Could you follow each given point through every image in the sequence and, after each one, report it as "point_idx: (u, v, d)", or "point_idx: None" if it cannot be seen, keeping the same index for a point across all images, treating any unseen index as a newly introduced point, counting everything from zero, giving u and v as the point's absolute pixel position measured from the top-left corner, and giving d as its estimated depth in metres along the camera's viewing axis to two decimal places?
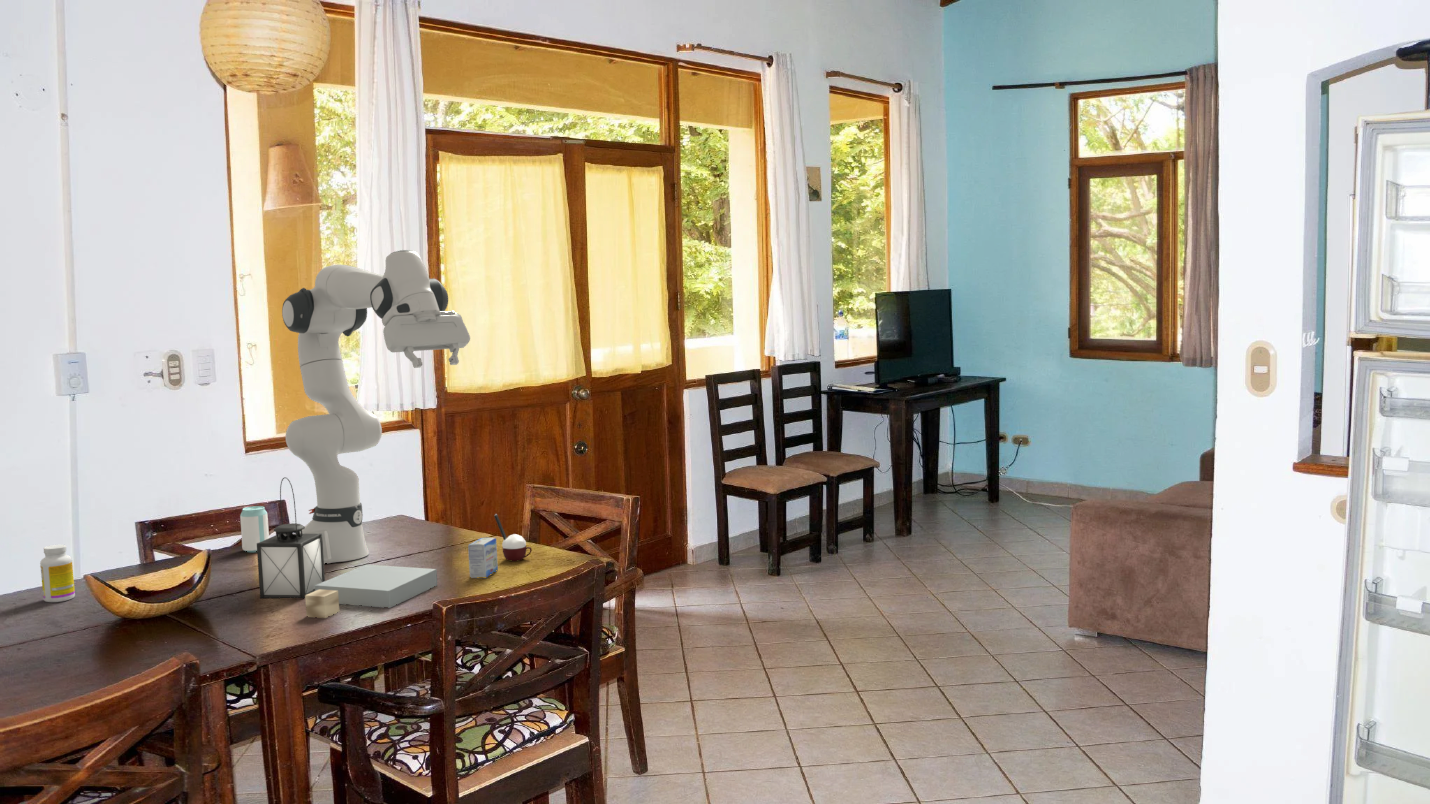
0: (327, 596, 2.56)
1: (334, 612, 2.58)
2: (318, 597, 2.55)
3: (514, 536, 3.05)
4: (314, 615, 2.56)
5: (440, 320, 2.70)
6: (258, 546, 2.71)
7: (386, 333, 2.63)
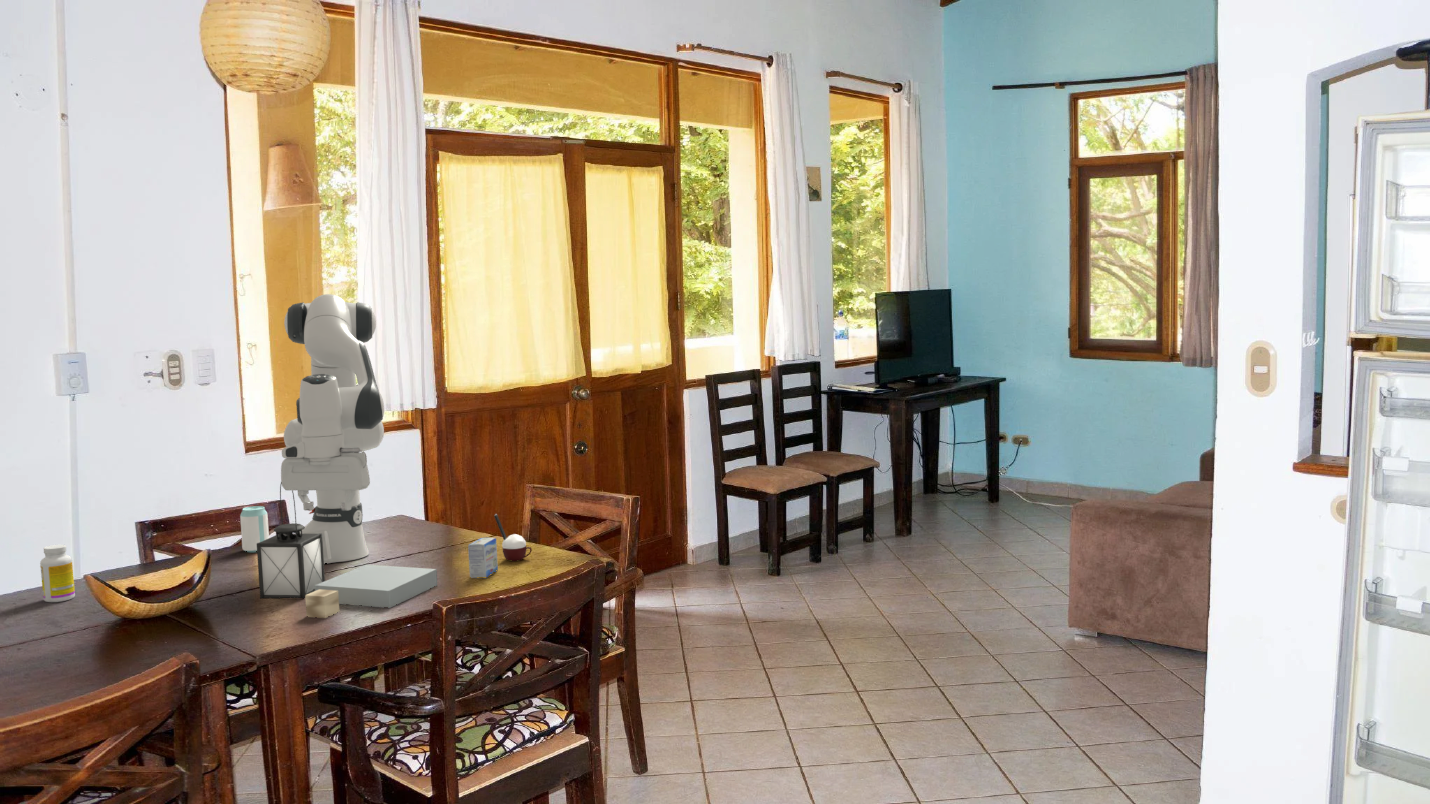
0: (327, 596, 2.56)
1: (334, 612, 2.58)
2: (318, 597, 2.55)
3: (514, 536, 3.05)
4: (314, 615, 2.56)
5: (333, 463, 2.53)
6: (258, 546, 2.71)
7: None
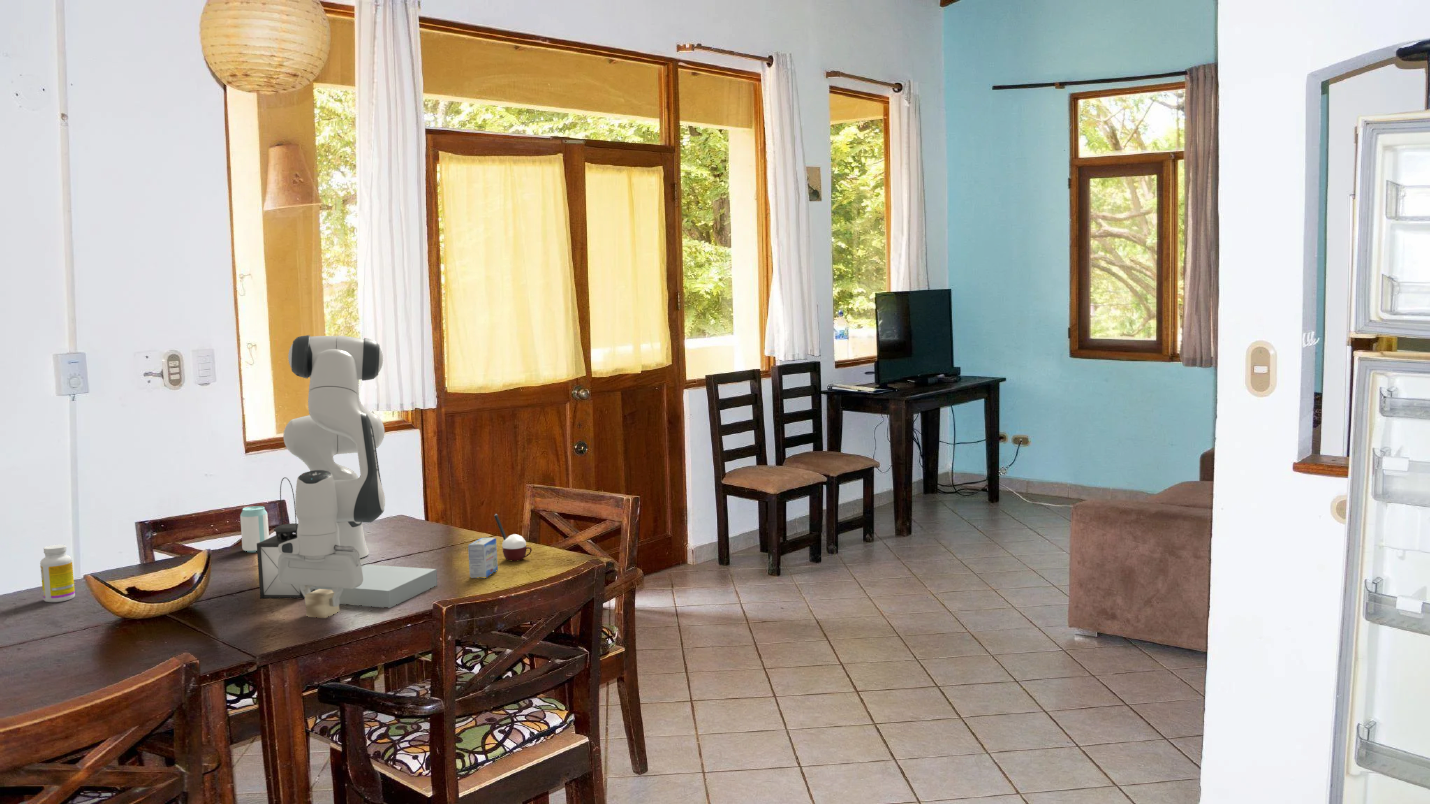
0: (327, 596, 2.56)
1: (334, 612, 2.58)
2: (318, 597, 2.55)
3: (514, 536, 3.05)
4: (314, 615, 2.56)
5: (327, 561, 2.54)
6: (258, 546, 2.71)
7: None
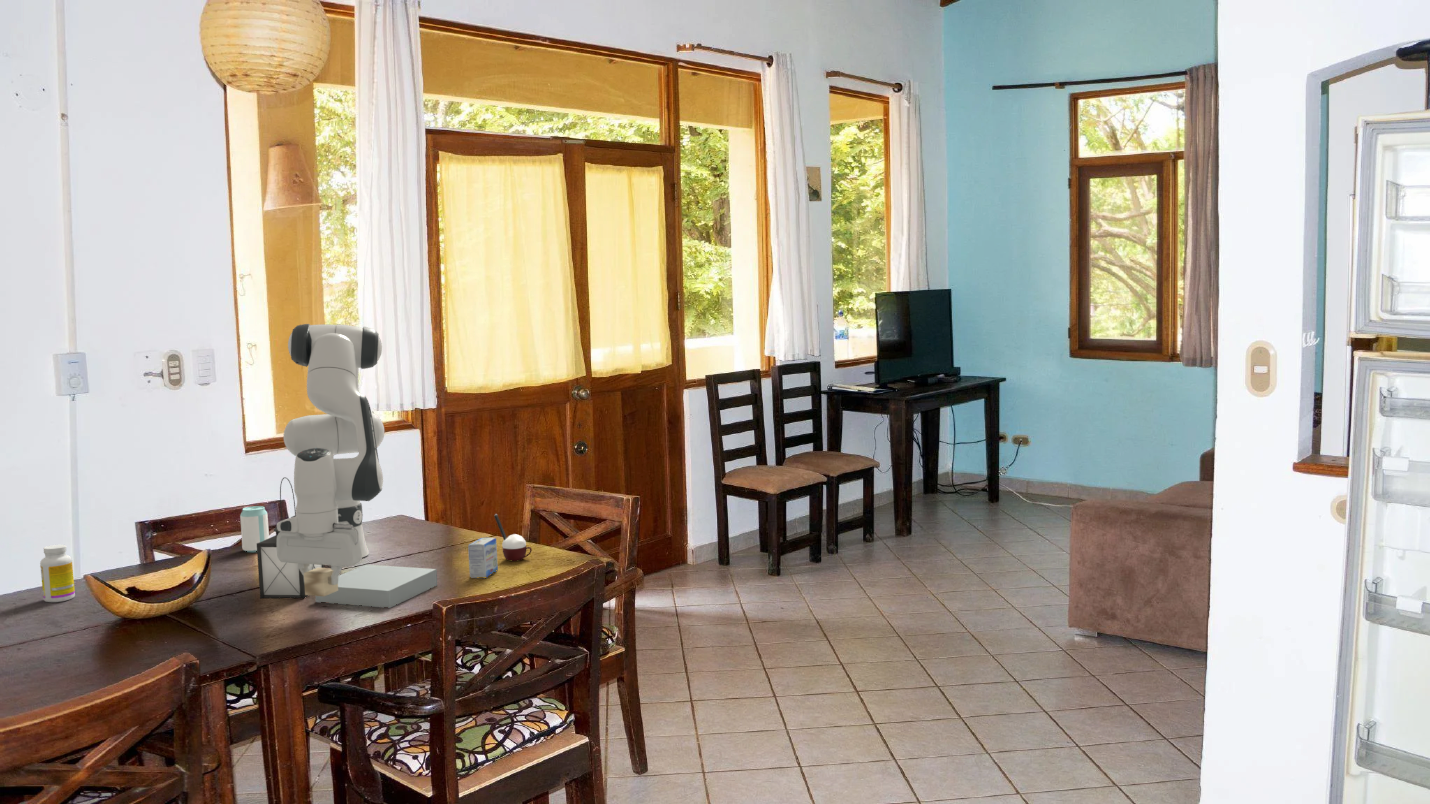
0: (326, 574, 2.55)
1: (333, 590, 2.58)
2: (317, 575, 2.55)
3: (514, 536, 3.05)
4: (313, 593, 2.56)
5: (326, 539, 2.54)
6: (258, 546, 2.71)
7: None
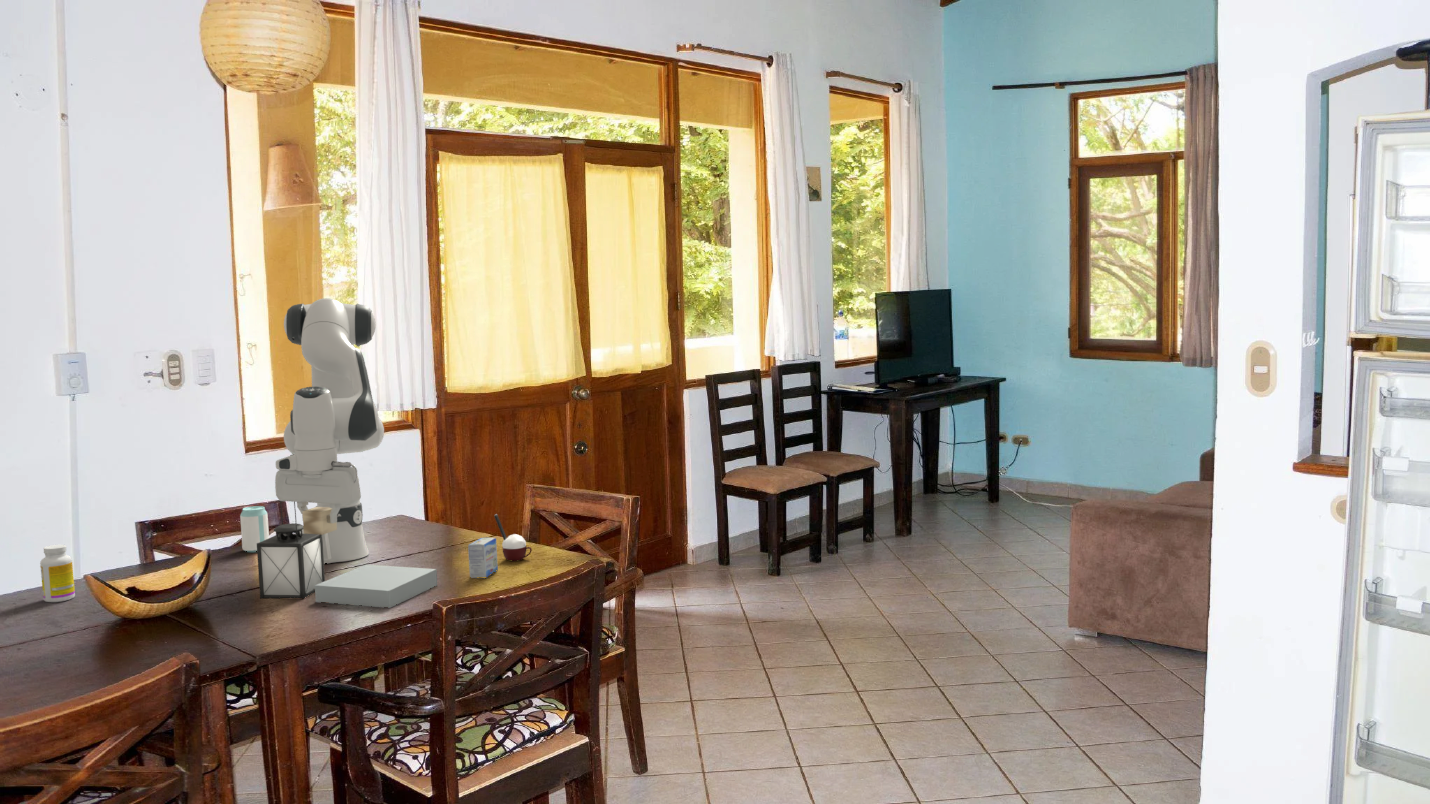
0: (324, 512, 2.55)
1: (331, 529, 2.57)
2: (315, 513, 2.54)
3: (514, 536, 3.05)
4: (311, 531, 2.55)
5: (325, 477, 2.53)
6: (258, 546, 2.71)
7: None
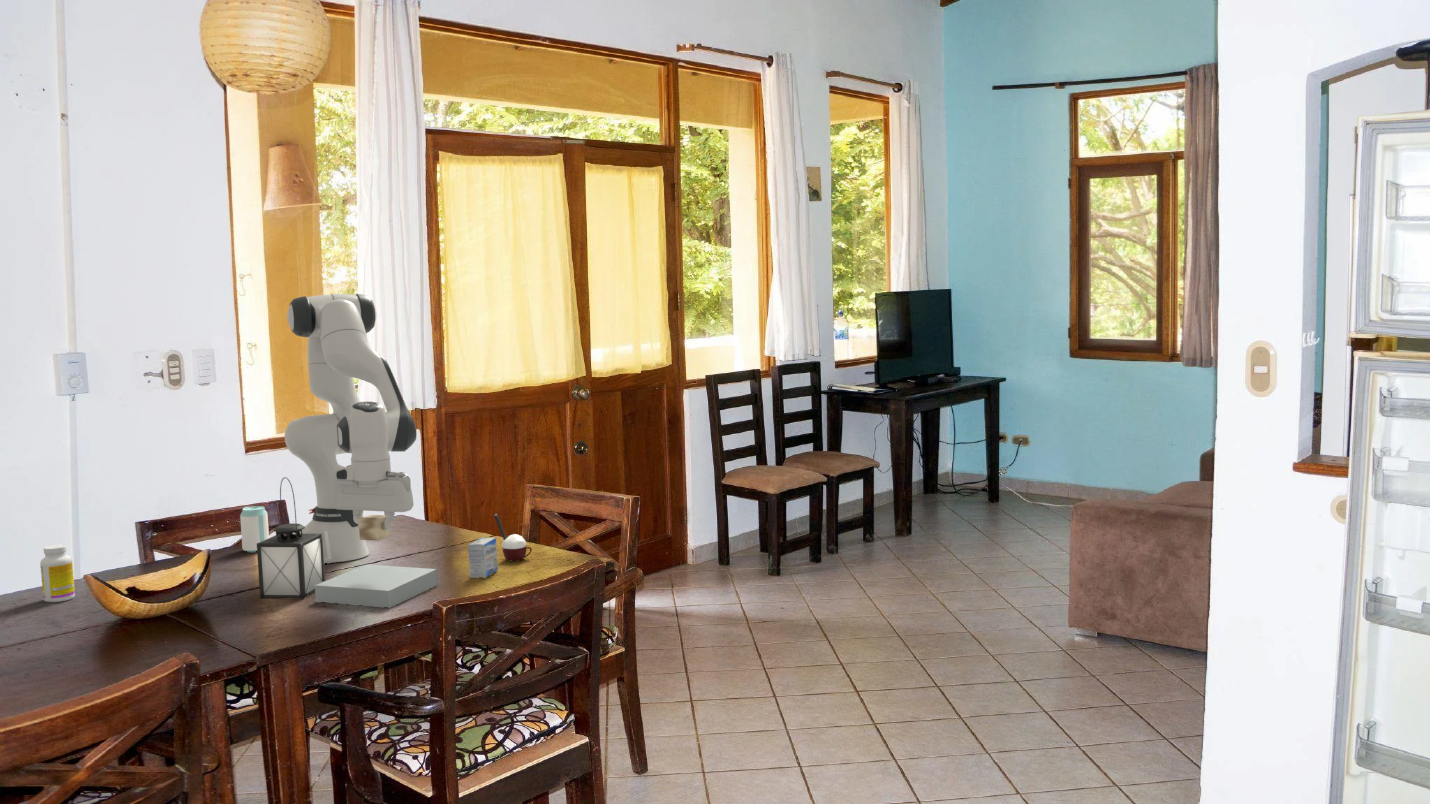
0: (379, 519, 2.71)
1: (385, 535, 2.73)
2: (371, 520, 2.70)
3: (514, 536, 3.05)
4: (367, 537, 2.71)
5: (380, 486, 2.69)
6: (258, 546, 2.71)
7: None
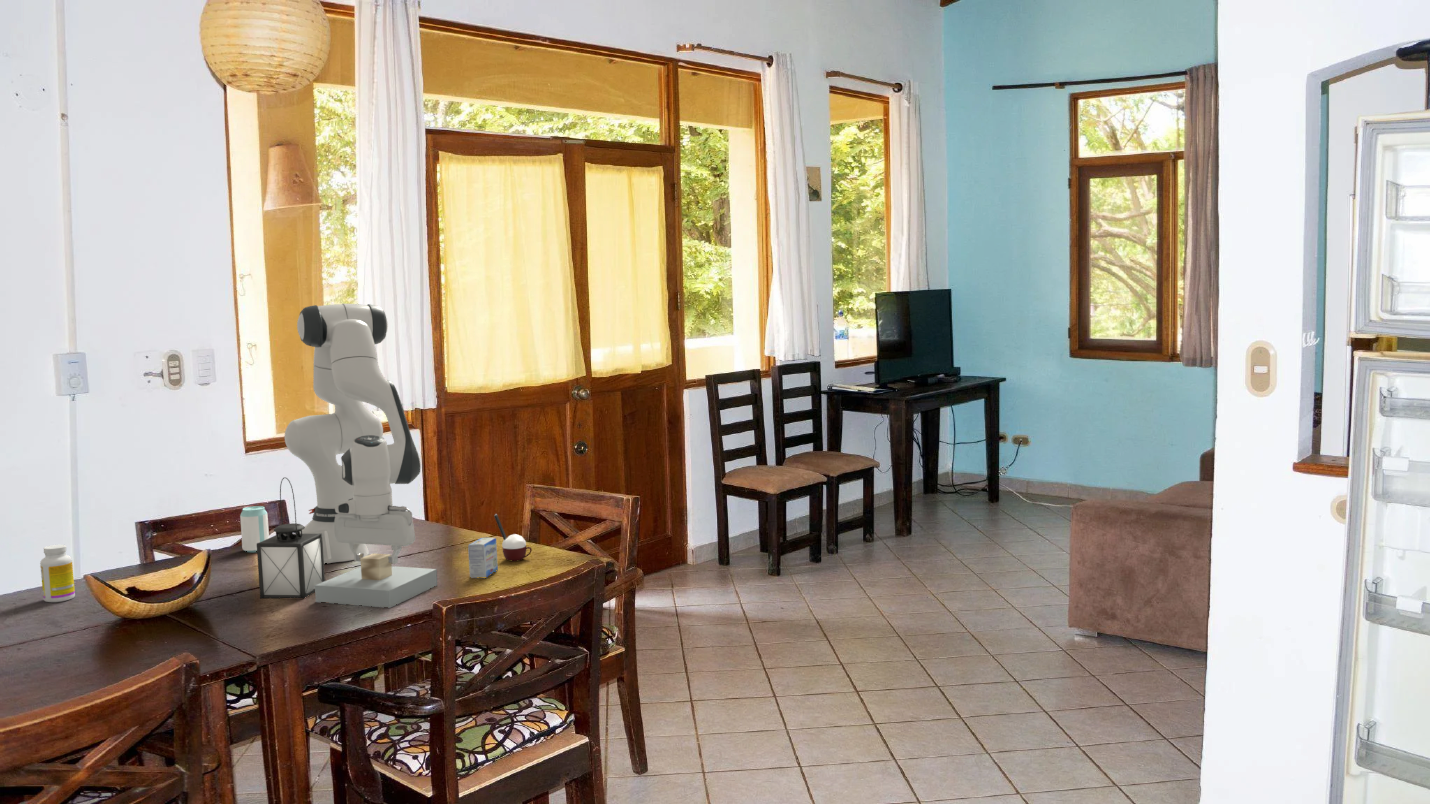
0: (381, 559, 2.72)
1: (387, 574, 2.74)
2: (373, 560, 2.71)
3: (514, 536, 3.05)
4: (369, 577, 2.72)
5: (382, 520, 2.70)
6: (258, 546, 2.71)
7: None
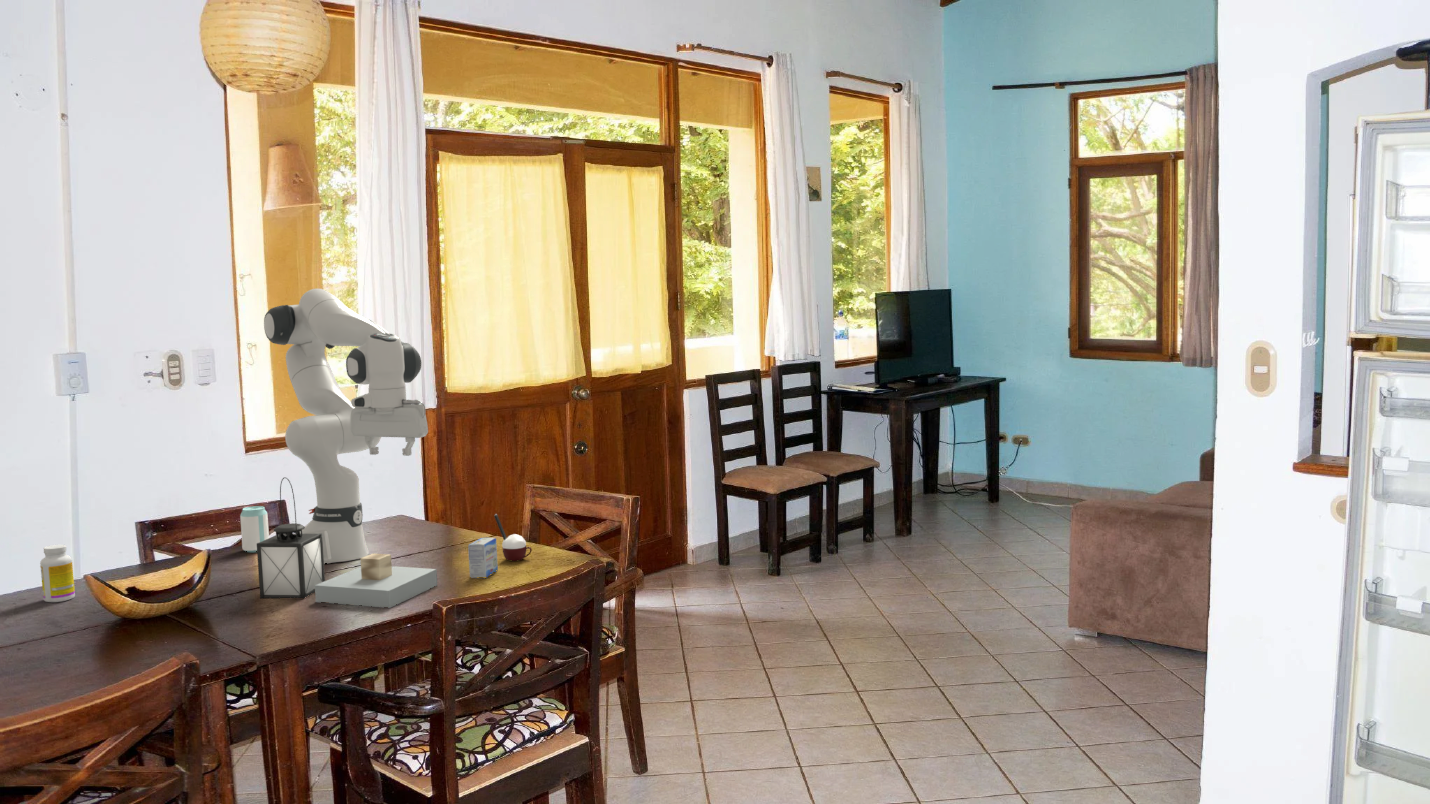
0: (381, 559, 2.72)
1: (387, 574, 2.74)
2: (373, 560, 2.71)
3: (514, 536, 3.05)
4: (369, 577, 2.72)
5: (396, 413, 2.82)
6: (258, 546, 2.71)
7: None
